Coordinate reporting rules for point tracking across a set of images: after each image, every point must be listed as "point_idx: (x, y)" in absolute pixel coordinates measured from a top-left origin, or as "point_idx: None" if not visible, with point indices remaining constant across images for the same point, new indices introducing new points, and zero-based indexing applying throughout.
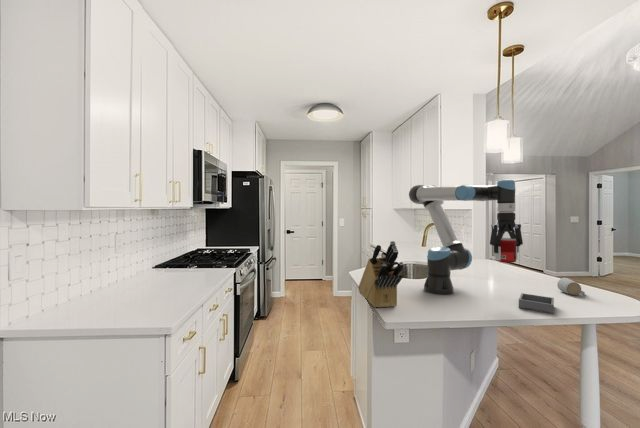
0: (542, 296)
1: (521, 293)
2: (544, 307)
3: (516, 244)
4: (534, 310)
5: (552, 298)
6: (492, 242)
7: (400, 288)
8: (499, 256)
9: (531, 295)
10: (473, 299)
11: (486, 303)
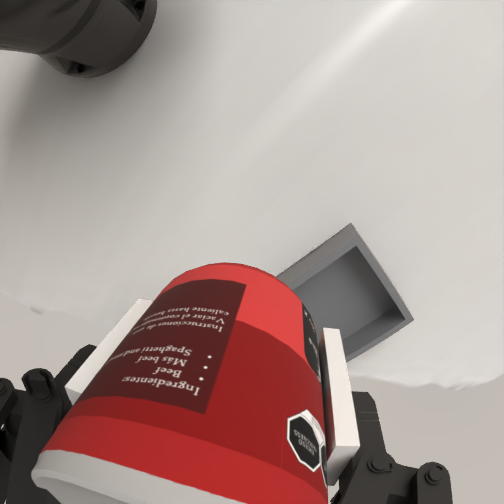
0: (394, 296)
1: (352, 239)
2: None
3: (332, 501)
4: None
5: (401, 324)
6: (4, 412)
7: None
8: None
9: (373, 268)
10: (158, 151)
11: (176, 211)
